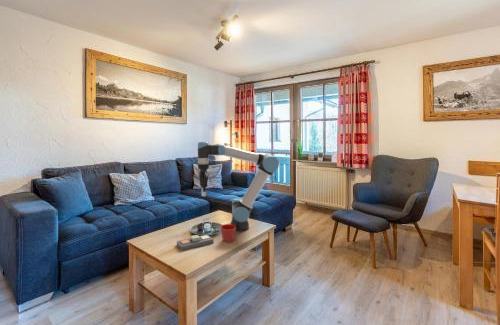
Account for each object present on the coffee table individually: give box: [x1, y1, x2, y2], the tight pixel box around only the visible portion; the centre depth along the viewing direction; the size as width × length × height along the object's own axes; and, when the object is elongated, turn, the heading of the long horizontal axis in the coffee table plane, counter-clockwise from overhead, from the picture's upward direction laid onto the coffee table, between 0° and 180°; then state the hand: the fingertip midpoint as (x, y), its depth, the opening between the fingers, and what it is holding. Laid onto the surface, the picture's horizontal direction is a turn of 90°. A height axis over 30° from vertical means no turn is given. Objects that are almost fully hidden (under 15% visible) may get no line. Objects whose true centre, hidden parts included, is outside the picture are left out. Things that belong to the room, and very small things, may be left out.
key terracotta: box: [180, 239, 190, 245], centre depth 169 cm, size 5×5×2 cm
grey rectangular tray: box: [176, 234, 214, 251], centre depth 173 cm, size 22×10×3 cm, turn 122°
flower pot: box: [220, 223, 236, 243], centre depth 180 cm, size 11×11×10 cm
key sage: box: [190, 234, 200, 242], centre depth 173 cm, size 5×5×2 cm
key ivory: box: [200, 234, 210, 240], centre depth 177 cm, size 5×5×2 cm
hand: (203, 195), depth 185 cm, fingers closed
